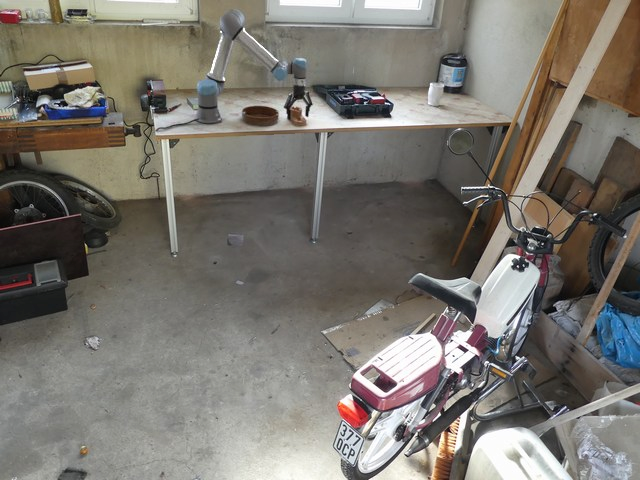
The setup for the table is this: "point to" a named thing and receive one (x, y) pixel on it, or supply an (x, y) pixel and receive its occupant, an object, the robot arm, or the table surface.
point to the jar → (435, 93)
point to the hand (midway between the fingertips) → (297, 117)
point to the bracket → (297, 116)
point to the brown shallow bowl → (260, 115)
